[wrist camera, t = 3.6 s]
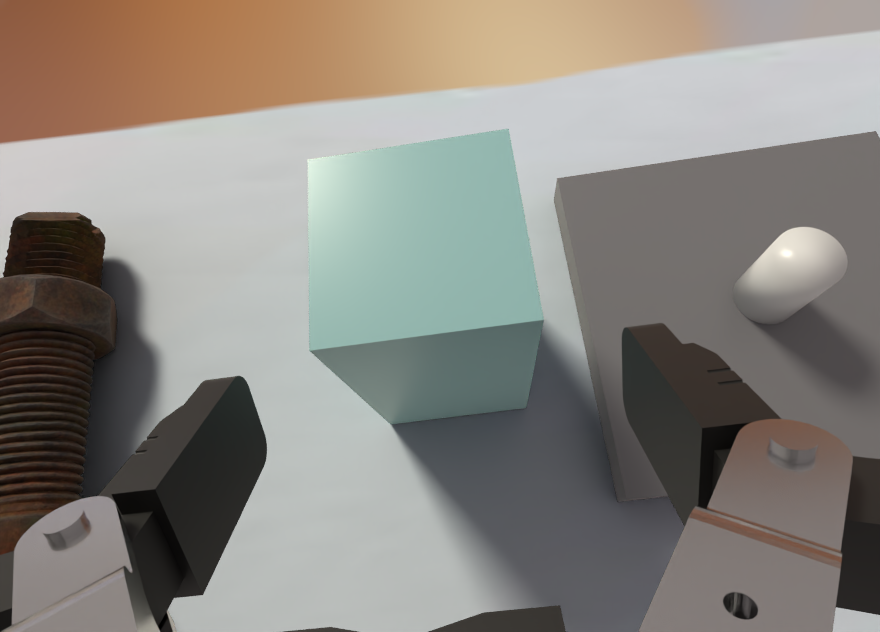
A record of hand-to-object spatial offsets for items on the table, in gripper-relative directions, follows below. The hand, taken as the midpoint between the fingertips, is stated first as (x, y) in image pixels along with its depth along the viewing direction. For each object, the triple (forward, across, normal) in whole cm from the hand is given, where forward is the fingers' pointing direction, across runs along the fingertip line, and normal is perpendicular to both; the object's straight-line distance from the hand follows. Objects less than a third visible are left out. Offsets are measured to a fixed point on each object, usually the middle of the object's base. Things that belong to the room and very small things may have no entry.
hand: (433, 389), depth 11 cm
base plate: (+9, -11, +4) cm, 14 cm away
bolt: (+8, +15, +4) cm, 18 cm away
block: (+8, 0, +4) cm, 9 cm away
